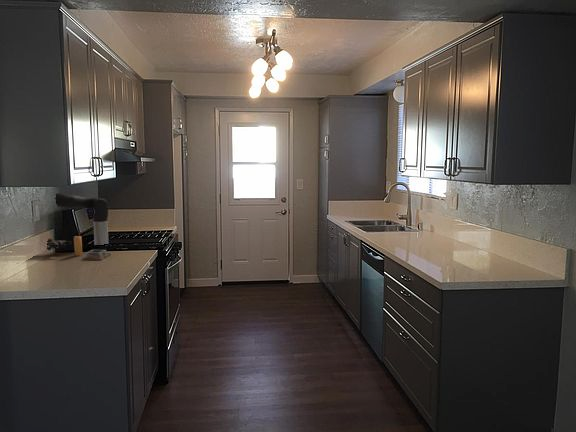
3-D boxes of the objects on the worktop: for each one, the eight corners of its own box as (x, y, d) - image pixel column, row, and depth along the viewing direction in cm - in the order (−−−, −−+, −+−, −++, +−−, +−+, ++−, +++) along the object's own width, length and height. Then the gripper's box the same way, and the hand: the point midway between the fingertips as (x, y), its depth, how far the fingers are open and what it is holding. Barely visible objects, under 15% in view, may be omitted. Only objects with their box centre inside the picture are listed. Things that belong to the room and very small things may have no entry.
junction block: (92, 254, 303) (91, 248, 302) (110, 254, 303) (110, 248, 302) (81, 260, 288) (81, 253, 287) (101, 260, 288) (101, 253, 287)
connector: (76, 254, 303) (75, 236, 302) (83, 254, 303) (82, 236, 302) (73, 255, 299) (72, 237, 297) (80, 256, 299) (79, 237, 297)
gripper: (36, 240, 293) (62, 240, 293) (48, 236, 307) (73, 236, 307) (37, 252, 294) (63, 252, 294) (49, 247, 308) (73, 247, 308)
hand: (68, 244), depth 300 cm, fingers open, 8 cm apart
